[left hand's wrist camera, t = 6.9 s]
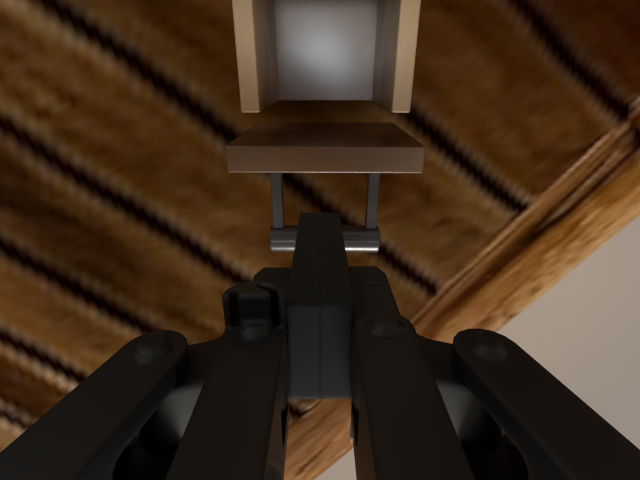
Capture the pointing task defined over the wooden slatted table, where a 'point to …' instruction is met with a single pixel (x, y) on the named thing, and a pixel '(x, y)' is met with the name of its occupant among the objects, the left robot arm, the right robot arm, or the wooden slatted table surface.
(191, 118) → the wooden slatted table surface
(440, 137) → the wooden slatted table surface
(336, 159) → the drawer
